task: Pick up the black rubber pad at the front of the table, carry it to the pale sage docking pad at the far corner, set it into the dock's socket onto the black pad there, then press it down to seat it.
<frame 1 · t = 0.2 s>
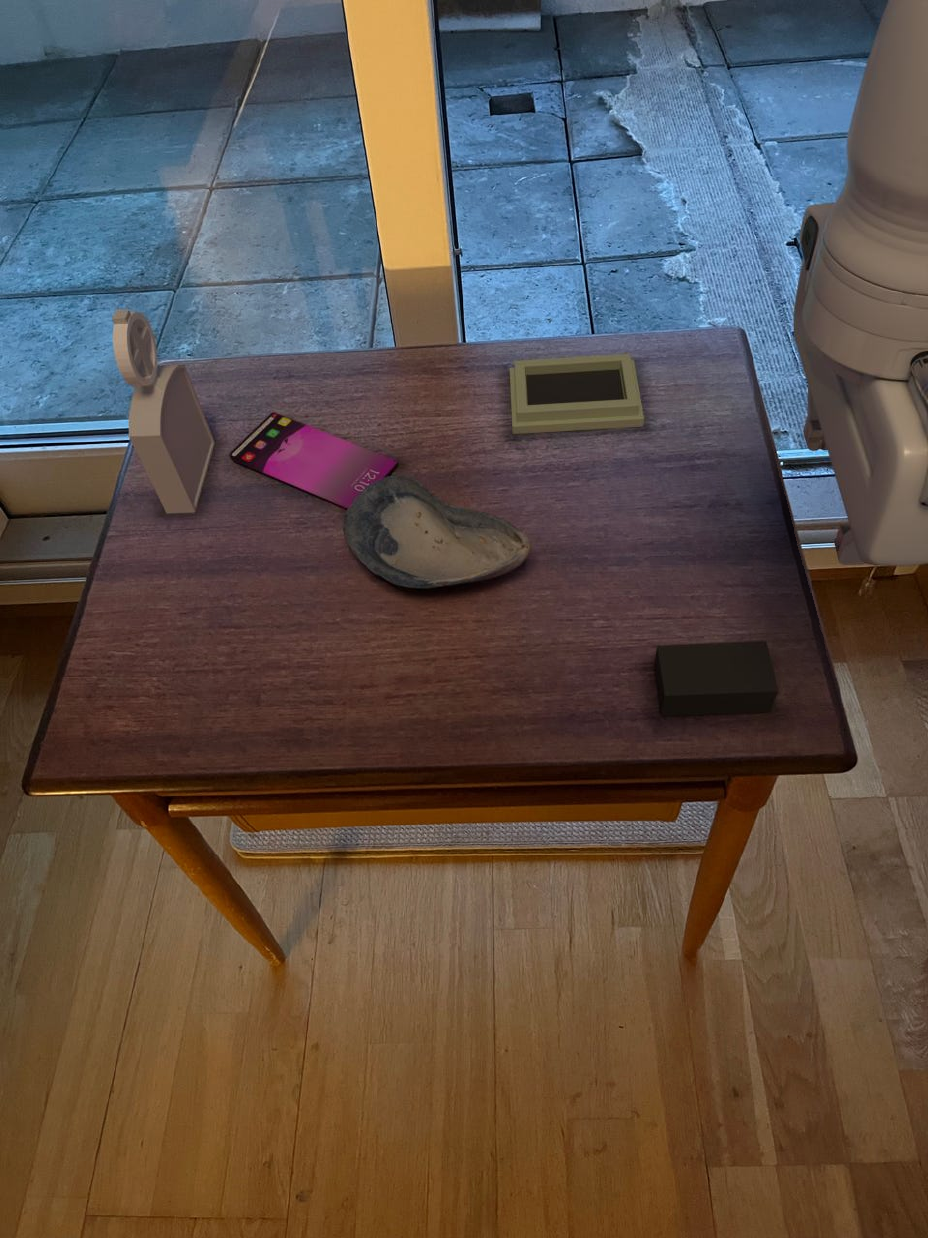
hand: (833, 496, 56), 18 cm above the table, tool pointing down, fingers open, 8 cm apart
smartphone: (314, 464, 87), on the table
black pad: (710, 689, 69), on the table
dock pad: (574, 400, 90), on the table
gravestone: (192, 478, 88), on the table
seashell: (437, 556, 79), on the table
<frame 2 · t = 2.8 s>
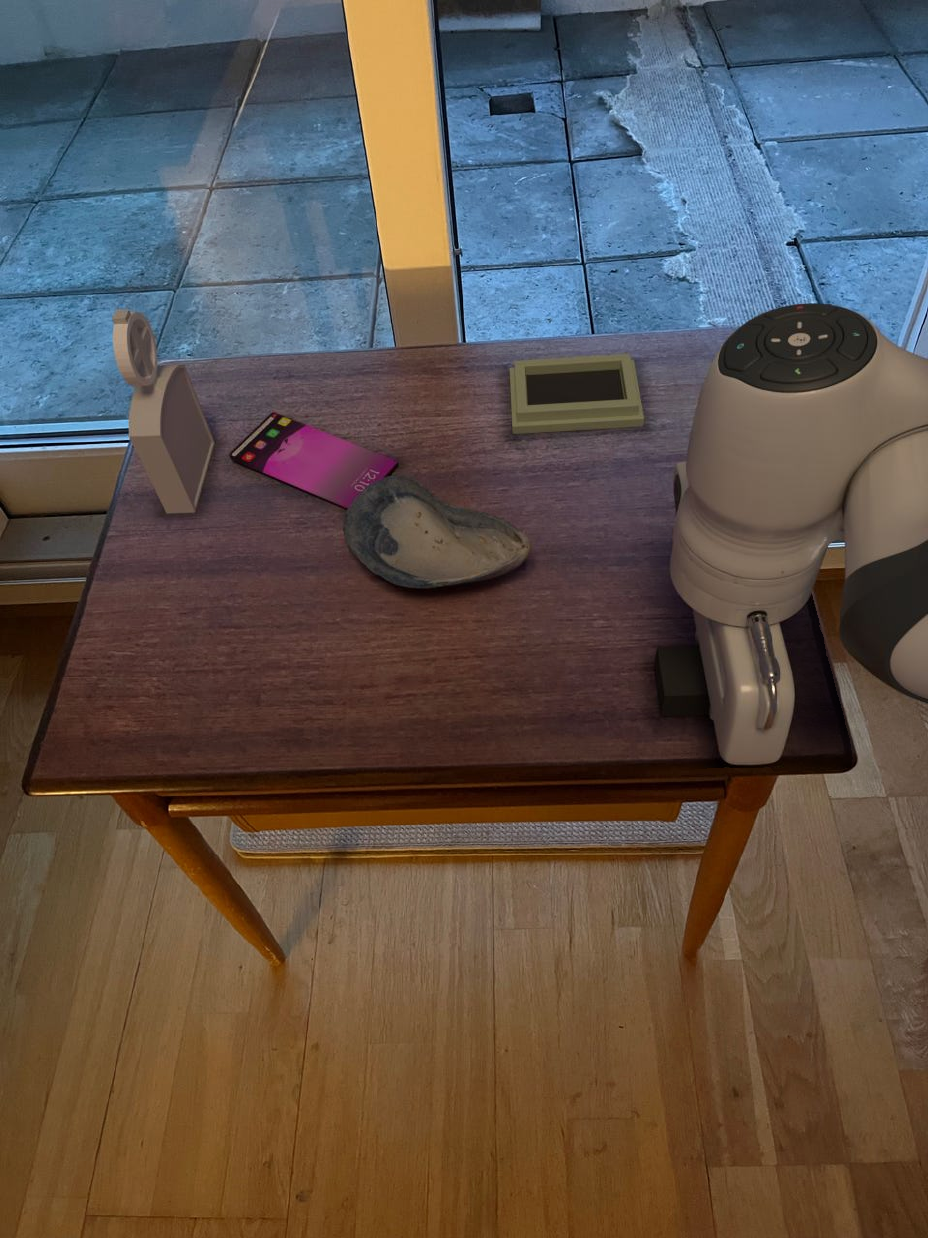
hand: (713, 677, 68), 2 cm above the table, tool pointing down, fingers closed on black pad, 4 cm apart
black pad: (710, 690, 69), on the table, touching gripper
everything else where it was.
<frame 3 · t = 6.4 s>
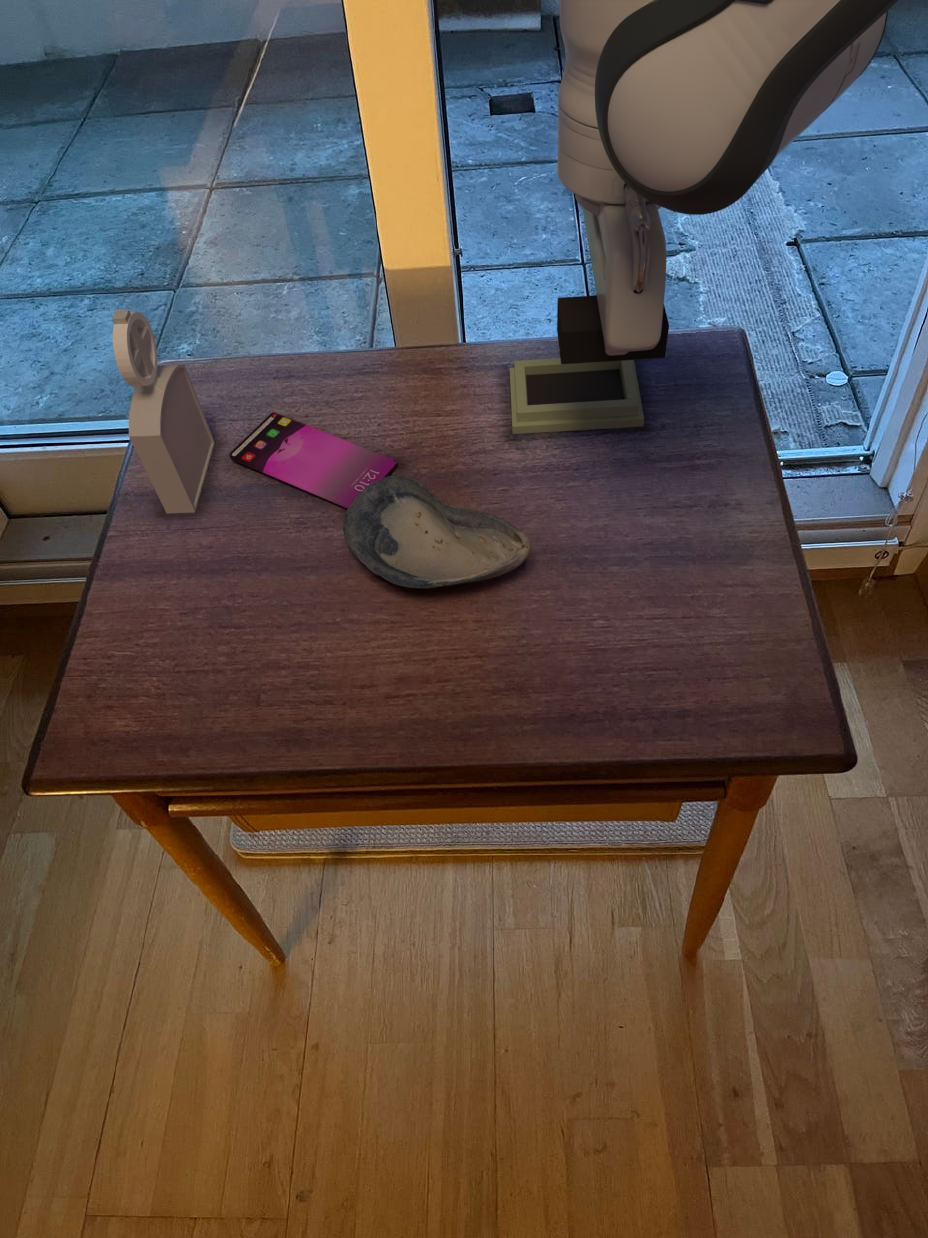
hand: (611, 325, 71), 16 cm above the table, tool pointing down, fingers closed on black pad, 4 cm apart
black pad: (609, 343, 72), point 14 cm above the table, touching gripper
everything else where it was.
when the fingers open (3 cm above the table, at t = 10.1 s): black pad stays where it is, resting on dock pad.
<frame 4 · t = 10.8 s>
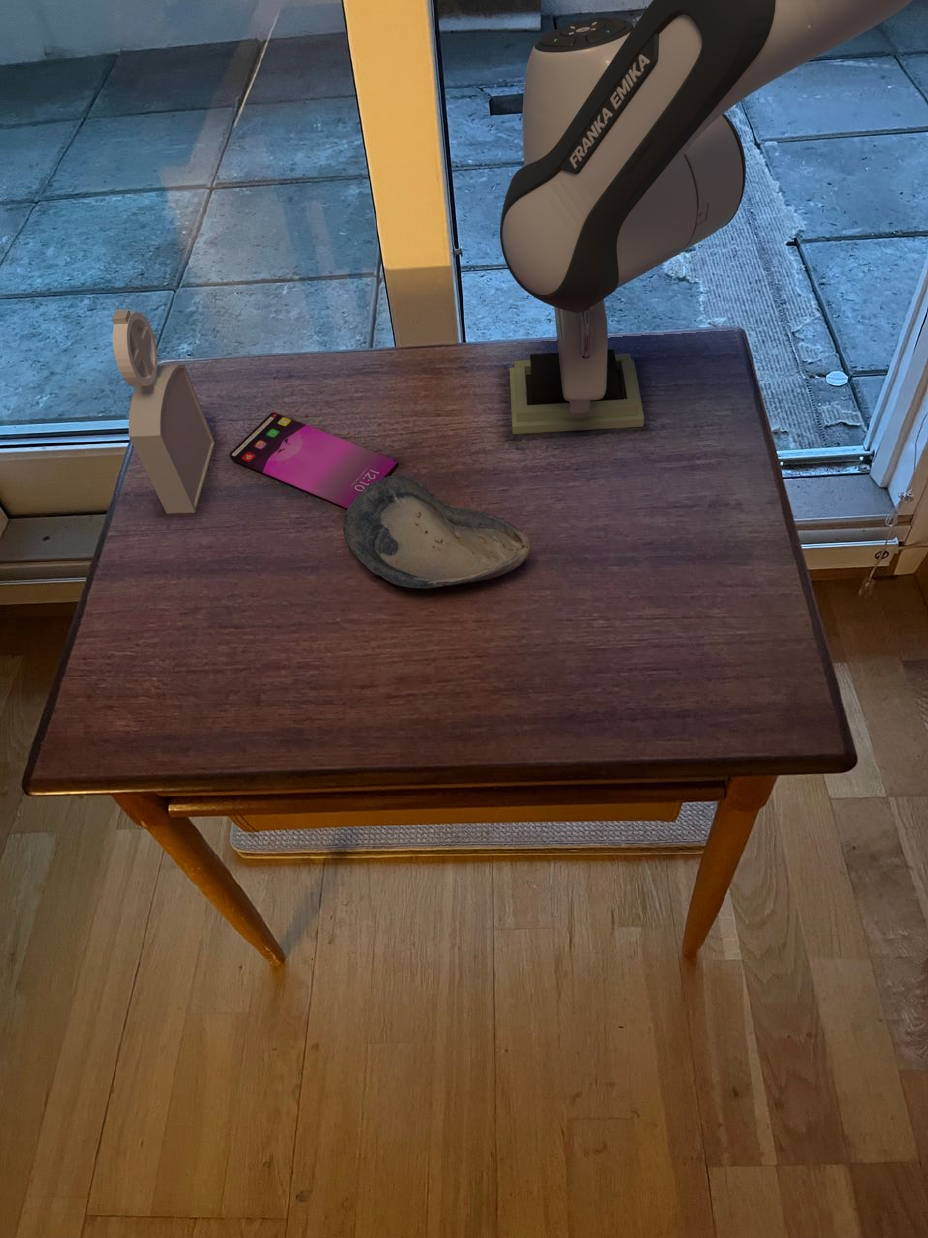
hand: (575, 375, 87), 3 cm above the table, tool pointing down, fingers open, 8 cm apart
black pad: (573, 391, 89), point 1 cm above the table, touching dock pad
everything else where it was.
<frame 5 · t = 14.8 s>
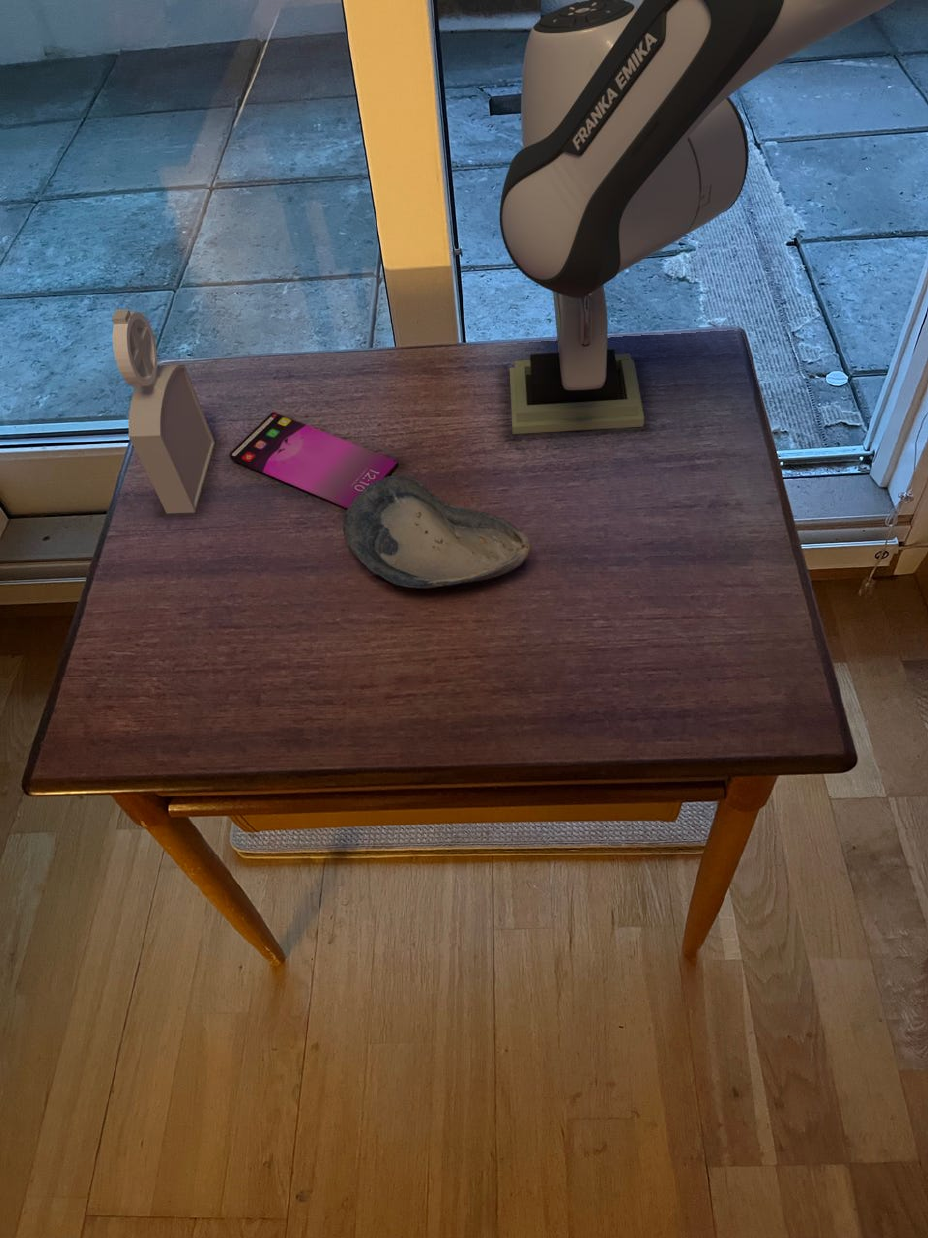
hand: (574, 364, 86), 4 cm above the table, tool pointing down, fingers closed, pressing on black pad
black pad: (573, 391, 89), point 1 cm above the table, touching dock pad, gripper
everything else where it was.
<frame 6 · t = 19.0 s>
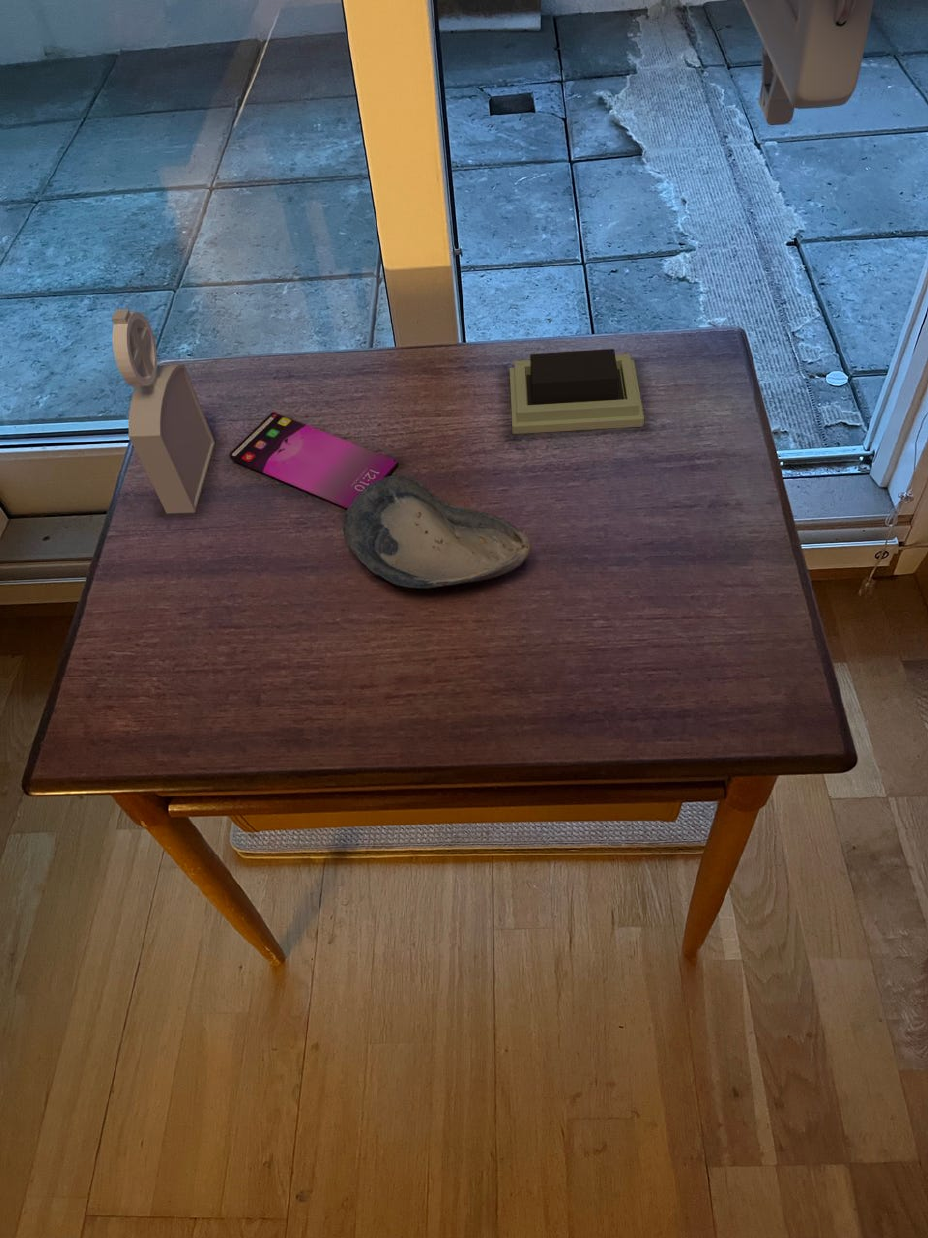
hand: (774, 115, 66), 27 cm above the table, tool pointing down, fingers closed
black pad: (573, 391, 89), point 1 cm above the table, touching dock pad
everything else where it was.
at the end: black pad 0.2 cm off-centre on the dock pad, point 1.2 cm above the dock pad's base; black pad tilted 0°; the gripper is holding nothing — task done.
